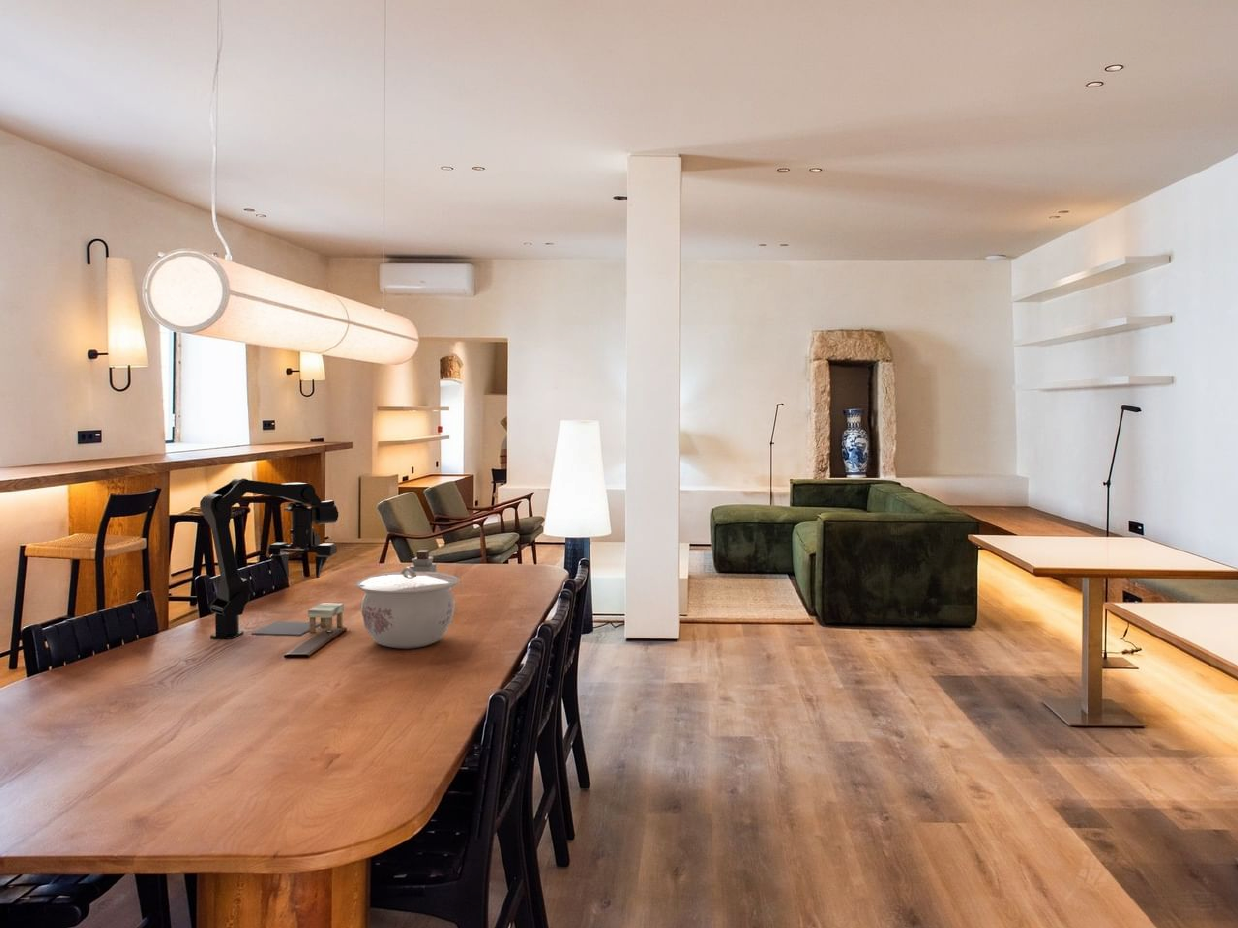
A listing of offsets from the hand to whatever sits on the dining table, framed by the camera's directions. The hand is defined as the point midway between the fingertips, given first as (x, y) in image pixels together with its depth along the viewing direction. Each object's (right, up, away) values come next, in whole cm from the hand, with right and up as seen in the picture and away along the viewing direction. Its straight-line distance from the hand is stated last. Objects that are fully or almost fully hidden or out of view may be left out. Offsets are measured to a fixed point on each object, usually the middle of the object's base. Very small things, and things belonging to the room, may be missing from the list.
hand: (302, 577), depth 254 cm
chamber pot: (+37, -15, -22) cm, 45 cm away
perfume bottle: (+31, -12, +22) cm, 40 cm away
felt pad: (-1, -14, -8) cm, 16 cm away
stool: (+10, -14, -8) cm, 19 cm away
